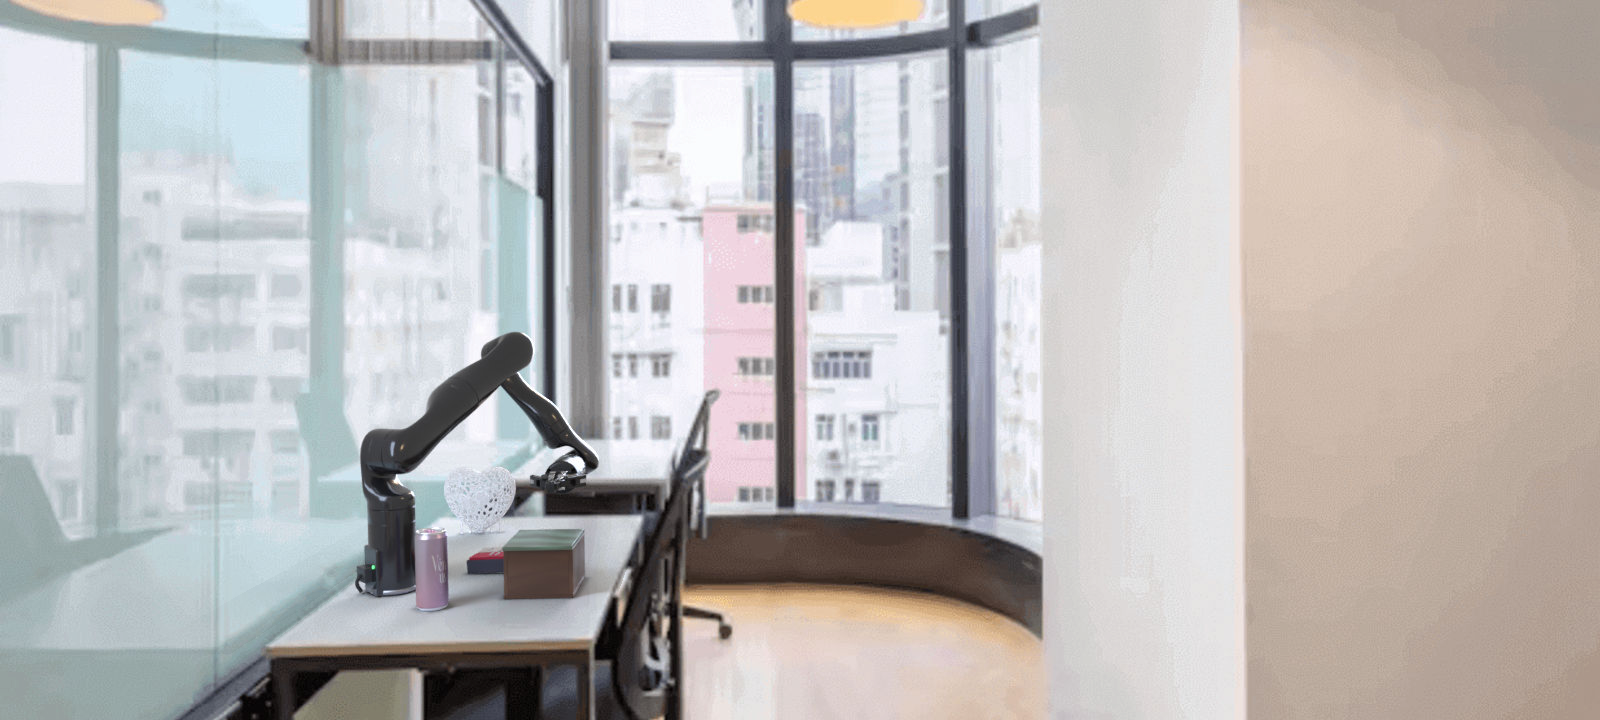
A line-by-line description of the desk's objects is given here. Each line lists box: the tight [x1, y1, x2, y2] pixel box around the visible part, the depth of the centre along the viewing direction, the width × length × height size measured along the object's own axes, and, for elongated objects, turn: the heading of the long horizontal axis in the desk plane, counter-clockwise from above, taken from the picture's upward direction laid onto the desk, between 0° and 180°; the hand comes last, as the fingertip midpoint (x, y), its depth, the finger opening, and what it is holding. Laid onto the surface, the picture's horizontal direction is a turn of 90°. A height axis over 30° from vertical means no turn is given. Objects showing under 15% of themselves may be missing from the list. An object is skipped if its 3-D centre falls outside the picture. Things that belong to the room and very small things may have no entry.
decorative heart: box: [443, 466, 517, 535], centre depth 275 cm, size 18×11×17 cm, turn 94°
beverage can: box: [415, 527, 450, 612], centre depth 206 cm, size 6×6×15 cm
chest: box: [503, 533, 586, 600], centre depth 220 cm, size 16×14×10 cm
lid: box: [501, 528, 585, 551], centre depth 219 cm, size 16×14×1 cm
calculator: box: [466, 546, 504, 575], centre depth 237 cm, size 11×4×15 cm
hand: (551, 487), depth 227 cm, fingers closed
